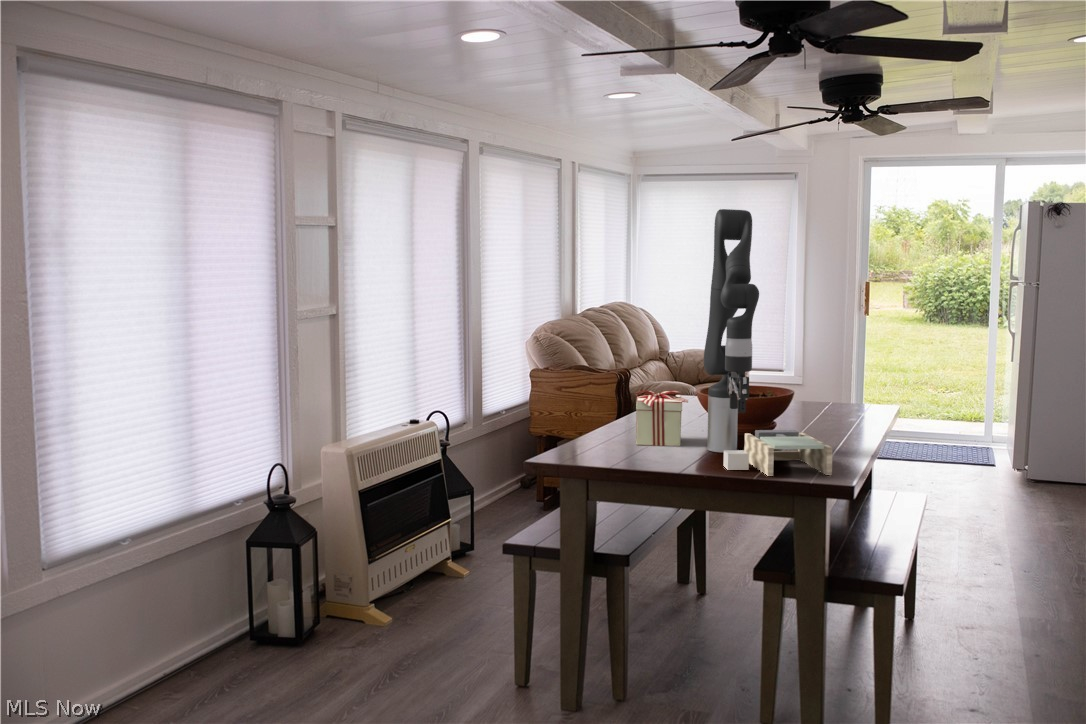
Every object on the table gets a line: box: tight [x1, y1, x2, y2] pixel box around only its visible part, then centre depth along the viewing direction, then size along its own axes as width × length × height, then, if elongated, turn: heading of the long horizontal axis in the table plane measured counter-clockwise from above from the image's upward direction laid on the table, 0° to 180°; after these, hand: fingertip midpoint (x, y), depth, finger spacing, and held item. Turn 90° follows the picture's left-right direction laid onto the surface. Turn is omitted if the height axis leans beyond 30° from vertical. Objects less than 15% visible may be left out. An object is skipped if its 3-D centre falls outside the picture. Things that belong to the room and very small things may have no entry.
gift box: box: [635, 390, 689, 447], centre depth 312 cm, size 17×18×17 cm
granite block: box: [722, 449, 750, 471], centre depth 271 cm, size 5×6×5 cm
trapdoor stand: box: [743, 432, 834, 477], centre depth 273 cm, size 24×18×8 cm
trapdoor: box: [754, 429, 824, 450], centre depth 273 cm, size 22×14×4 cm, turn 3°
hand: (737, 410), depth 270 cm, fingers open, 8 cm apart
